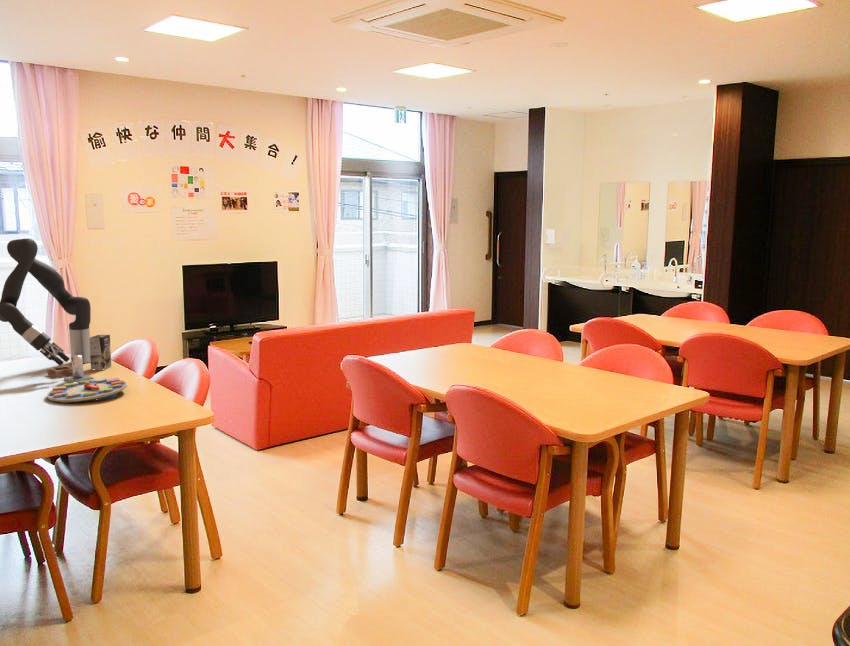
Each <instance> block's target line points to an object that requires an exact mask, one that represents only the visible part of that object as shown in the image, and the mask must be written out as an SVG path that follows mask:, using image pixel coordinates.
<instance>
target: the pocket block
mask: <svg viewBox="0 0 850 646" xmlns="http://www.w3.org/2000/svg"><path fill="white" fill-rule="evenodd" d="M46 371H47V376H49V375H50V377H53V376H54V377H53V378H56V377H59V378H64V377H63V376H65V377H69V376H68V375H71V376H73V373H72V366H70V365H64V366H62V365H61V366H57V367H50V368H49V367H48V368H47V370H46Z"/></svg>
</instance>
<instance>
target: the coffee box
mask: <svg viewBox="0 0 850 646" xmlns="http://www.w3.org/2000/svg"><path fill="white" fill-rule="evenodd" d="M89 339H90V360H91V362H90V370H91V371H104V370H103V369H105V370H107V369H108V367H110V366H111V367H112V354H111V353H112V352H111V351H112V349H111V334H97V335H93V336H90V338H89ZM111 367H110V368H111ZM106 368H107V369H106ZM93 369H95V370H93Z"/></svg>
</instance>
